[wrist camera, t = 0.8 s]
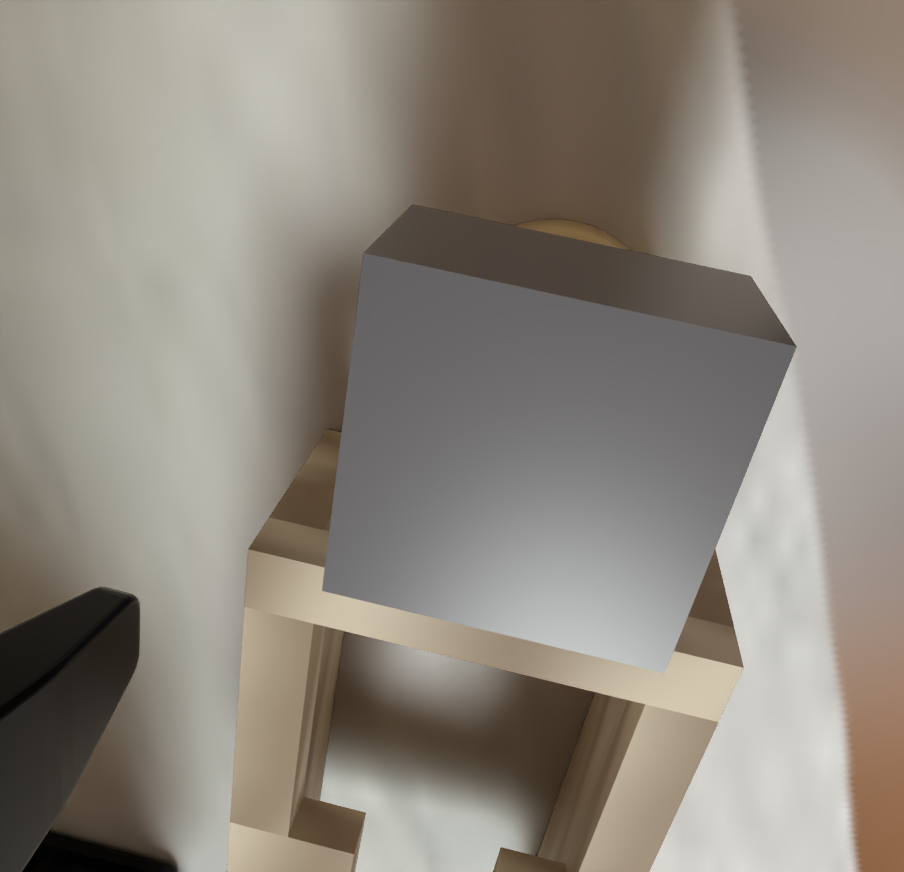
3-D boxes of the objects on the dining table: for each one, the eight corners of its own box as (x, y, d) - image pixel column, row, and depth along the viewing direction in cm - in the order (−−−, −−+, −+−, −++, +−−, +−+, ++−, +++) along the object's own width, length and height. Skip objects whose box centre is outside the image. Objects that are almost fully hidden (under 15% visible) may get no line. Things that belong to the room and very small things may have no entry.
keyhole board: (282, 823, 29) (219, 987, 24) (327, 429, 21) (247, 549, 16) (560, 895, 28) (553, 1077, 23) (707, 516, 20) (743, 667, 16)
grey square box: (407, 411, 20) (321, 591, 14) (446, 170, 18) (363, 252, 11) (640, 464, 20) (664, 673, 14) (719, 226, 17) (796, 346, 11)
